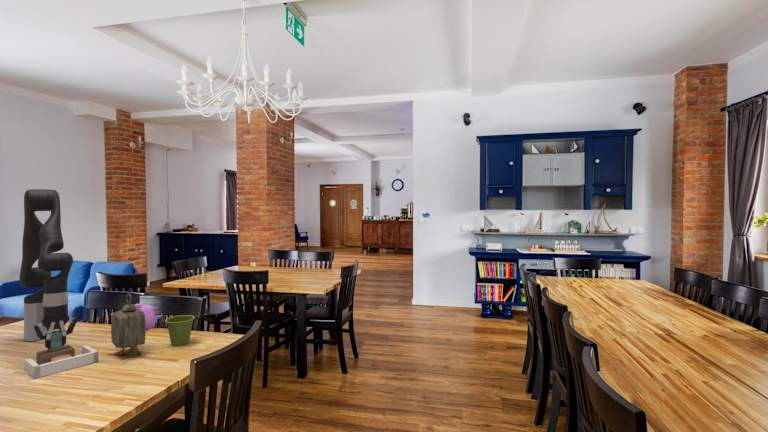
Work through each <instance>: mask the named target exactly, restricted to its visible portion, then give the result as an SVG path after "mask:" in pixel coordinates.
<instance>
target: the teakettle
mask: <svg viewBox="0 0 768 432" xmlns="http://www.w3.org/2000/svg"><path fill="white" fill-rule="evenodd" d="M134 305H135V307H136V308H139V309H141V310H142V311H143V312H144V313H145V324H146V330H151V329H154V328H155V326H156V320H159V319H160V318H162V314H161V315H156V314H155V310H157V309H158V307H154V306H155V305H154V306H151V304H143V303H135V304H134ZM114 313H115V312H112V313H110V316H111V317H112V314H114ZM150 328H151V329H150Z"/></svg>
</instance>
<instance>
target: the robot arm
mask: <svg viewBox="0 0 768 432" xmlns="http://www.w3.org/2000/svg"><path fill="white" fill-rule="evenodd" d="M35 212H50V215H49V217H48V219H46V221H45V222H44V223H42V222H41V220H40V219H39V218H38V217H37V215H36V213H35ZM23 214H24V220H23V221H24V223H23V231H22V232H23V233H22V242H21V243H22V245H21V246H22V251H21V252H22V257H21V258H22V259H21V265H20V272H19V280H18V281H19V285H20V287H22V288H24V289H30V288H32V289H33V288H40V287H41V288H40V289H39V290H37V291H36V292H34V293H30V294H27V295H26V296H24V298H23V341H24V342H35V341H41V340H42V341H43V340H44V348H46V350H47V349H51V339H50V337H51V334H52V332H53V331H56V330H60V331H61V332H62V346H65V345H67V336H68V335H71V334H72V333H73V331H74V329H75V327H76V324H77V322H78V319H77V318H76V317H70V316H69V294H68V278H69V275H70V272H71V270H72V267H73V263H74V258H73V255H72V254H71V253H69V252H61V250H63V249H64V247H65V244H64V243H65V242H64V239H63V233H62V228H61V227H62V226H61V225H62V224H61V221H62V220H61V219H62V218H61V217H62V216H61V215H62V214H61V199H60V195H59V192H58V191H57V190H55V189H47V188H46V189H42V188H41V189H40V188H39V189H37V188H34V189H33V188H31V189H26V191H25V192H24V195H23ZM36 262H37V266H35V267H34V265H35V264H36ZM52 272H59V273H58V274H57V275H53V276H52ZM67 323H69V325H68V326H67V329H66V325H67Z"/></svg>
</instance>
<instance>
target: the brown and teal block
mask: <svg viewBox="0 0 768 432" xmlns="http://www.w3.org/2000/svg"><path fill="white" fill-rule="evenodd" d="M50 339H51V349H47V348H46V349H43V350H38V351H36V353H35V356H36V357H35V358H36V361H35V362H36V363H37V364H38V365H41V364H45V363H49V362H51V359H52V358H53V357H56V356H60V355H72V357H74V356H76V355H75V352H76V351H75V347H73V346H71V345H69V344H68V345H67V344H65V345H64V346H62V332H61V331H60V330H59V329H55V330H53V332H52V334H51V337H50Z"/></svg>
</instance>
